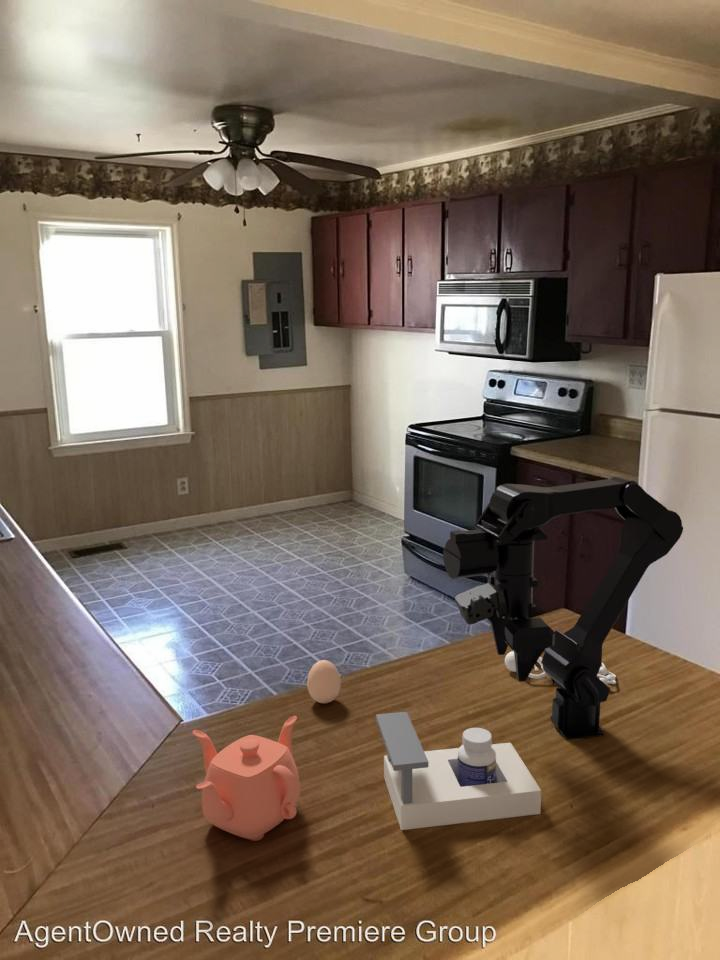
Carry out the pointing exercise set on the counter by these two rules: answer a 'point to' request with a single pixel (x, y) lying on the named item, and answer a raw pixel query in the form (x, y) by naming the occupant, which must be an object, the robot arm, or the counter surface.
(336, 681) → the egg
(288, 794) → the teapot
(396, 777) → the socket block
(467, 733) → the pill bottle
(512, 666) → the tangled rod sculpture
